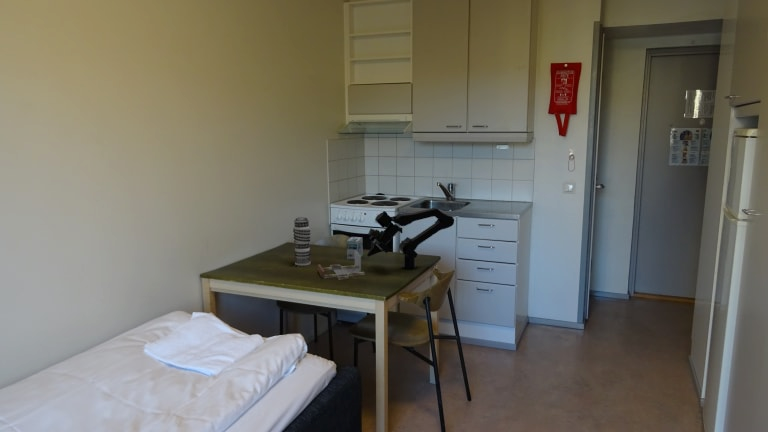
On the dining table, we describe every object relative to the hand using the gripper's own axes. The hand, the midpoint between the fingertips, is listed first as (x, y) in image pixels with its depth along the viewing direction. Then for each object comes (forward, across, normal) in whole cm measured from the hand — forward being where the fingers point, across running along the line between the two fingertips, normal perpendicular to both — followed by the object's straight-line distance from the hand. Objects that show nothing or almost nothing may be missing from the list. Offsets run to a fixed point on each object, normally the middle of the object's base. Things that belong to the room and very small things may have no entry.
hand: (367, 255), depth 265 cm
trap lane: (+16, 0, -4) cm, 16 cm away
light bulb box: (+6, -29, +6) cm, 30 cm away
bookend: (+13, 0, -2) cm, 14 cm away
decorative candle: (+27, -24, -15) cm, 40 cm away
